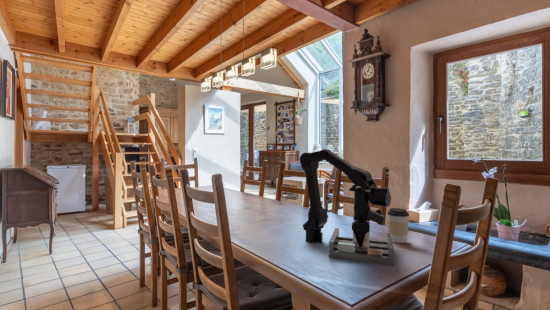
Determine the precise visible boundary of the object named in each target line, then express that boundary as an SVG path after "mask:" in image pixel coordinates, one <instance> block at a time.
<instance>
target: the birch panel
mask: <svg viewBox="0 0 550 310" xmlns="http://www.w3.org/2000/svg"><path fill="white" fill-rule="evenodd" d="M352 238H353V244H355V247H359V245H358V242H357V240H356V237H355V235H354V233H353V232H352ZM369 240H370V231H369V232H368V233H366V234H365V237H364V241H363V246H362V248H369Z"/></svg>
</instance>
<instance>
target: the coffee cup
mask: <svg viewBox="0 0 550 310" xmlns="http://www.w3.org/2000/svg"><path fill="white" fill-rule="evenodd" d="M386 214H387V225H388V226H387V228H388V229H387V230H388V233H390V235H391V239H392V243H398V244H400V243H401V244H404V243H407V239H408V238H407V236H408V232H409V231H408V230H409V222H410V221H409V218H410V213H409V212H408V210H407V209H405V208H398V207H397V208H396V207H394V208H393V207H392V208H391V207H390V208H389V210H388V211H387V213H386Z"/></svg>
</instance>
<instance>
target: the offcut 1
mask: <svg viewBox="0 0 550 310" xmlns="http://www.w3.org/2000/svg"><path fill="white" fill-rule="evenodd" d="M338 251H343V252H352V253H355V244H351V243H342V242H338Z"/></svg>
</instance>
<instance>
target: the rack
mask: <svg viewBox="0 0 550 310" xmlns="http://www.w3.org/2000/svg"><path fill="white" fill-rule="evenodd" d="M338 242H342V243H351V244H353V237H347V236H340V228H338V227H337V228H336V227H335V228H334V230H333V232H332V235H331V237H330V239H329V241H328V259H333V260H342V261H349V262H356V263H357V262H359V263H365V264H373V265H381V266H388V267H394V252H395V251H394V248H395V247H394V244H393V241H392V239H391V235H390V233H389V232H385V240H377V239H369V248H373V249H382V251H383V252H382V256H378V255H369V254H368V248H362V247H355V253H352V252H343V251H338Z"/></svg>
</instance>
